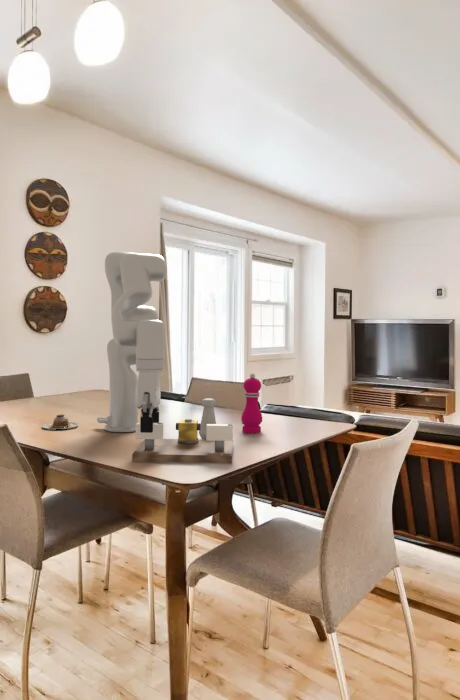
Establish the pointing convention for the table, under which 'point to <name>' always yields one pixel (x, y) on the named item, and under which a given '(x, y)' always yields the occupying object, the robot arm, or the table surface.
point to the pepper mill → (252, 406)
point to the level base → (185, 448)
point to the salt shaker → (207, 416)
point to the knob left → (150, 435)
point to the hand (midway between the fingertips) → (150, 429)
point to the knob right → (219, 434)
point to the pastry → (60, 423)
